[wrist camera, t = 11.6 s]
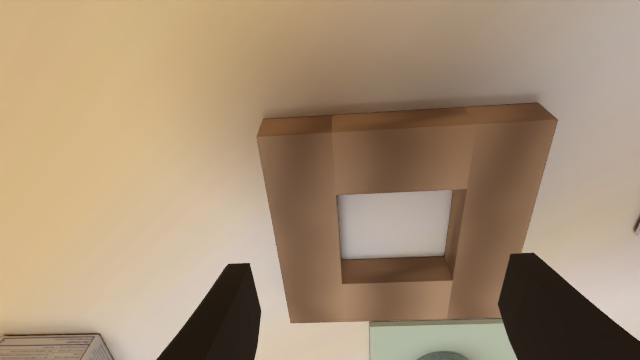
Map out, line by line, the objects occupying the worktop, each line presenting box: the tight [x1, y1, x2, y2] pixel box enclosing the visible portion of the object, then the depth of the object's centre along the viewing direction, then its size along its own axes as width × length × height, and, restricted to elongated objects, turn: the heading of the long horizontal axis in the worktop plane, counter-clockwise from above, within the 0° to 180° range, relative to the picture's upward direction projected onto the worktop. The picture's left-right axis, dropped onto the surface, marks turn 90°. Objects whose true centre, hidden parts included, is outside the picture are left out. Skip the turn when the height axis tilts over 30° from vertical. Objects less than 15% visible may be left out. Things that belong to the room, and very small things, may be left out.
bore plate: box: [257, 103, 558, 323], centre depth 22 cm, size 14×14×2 cm
